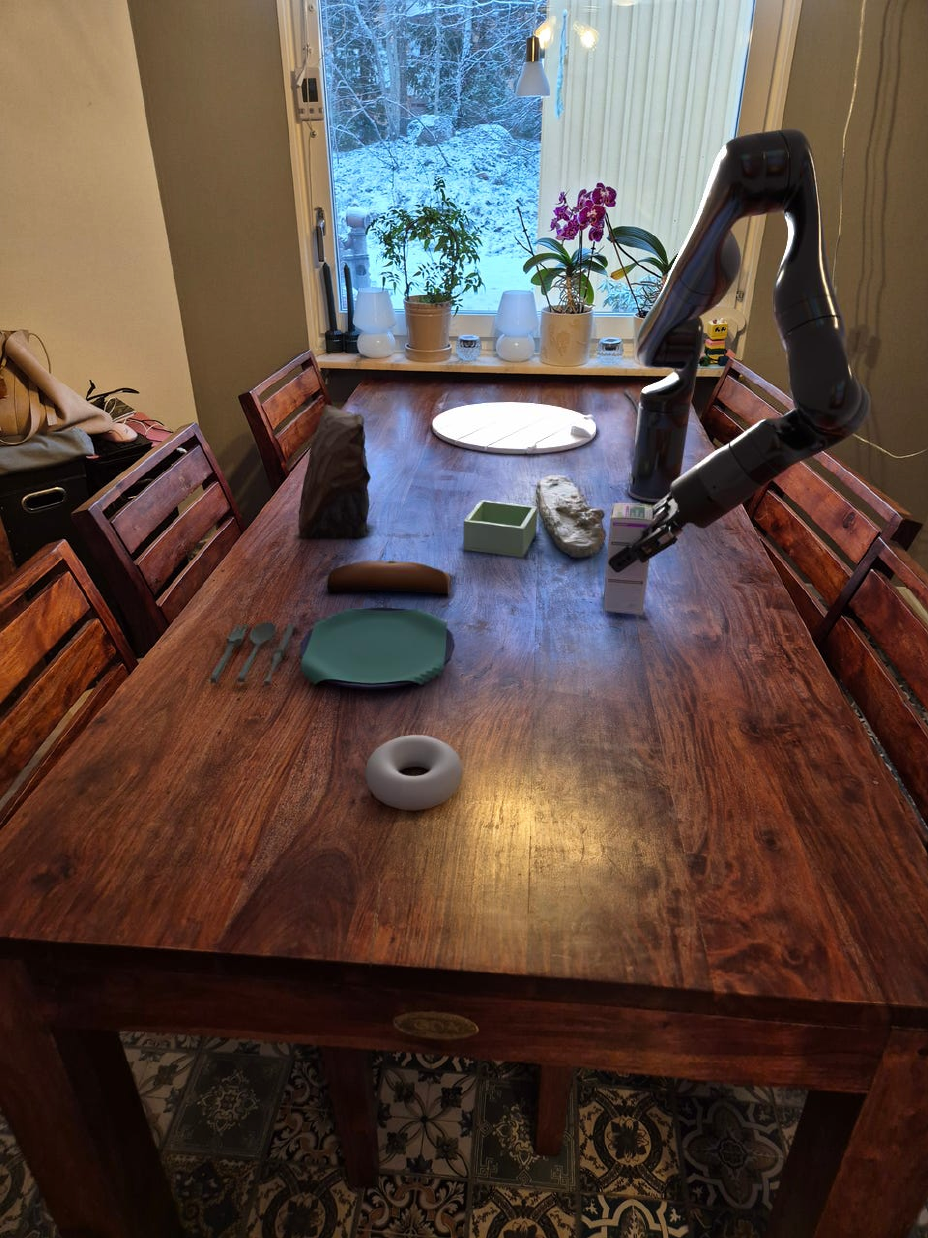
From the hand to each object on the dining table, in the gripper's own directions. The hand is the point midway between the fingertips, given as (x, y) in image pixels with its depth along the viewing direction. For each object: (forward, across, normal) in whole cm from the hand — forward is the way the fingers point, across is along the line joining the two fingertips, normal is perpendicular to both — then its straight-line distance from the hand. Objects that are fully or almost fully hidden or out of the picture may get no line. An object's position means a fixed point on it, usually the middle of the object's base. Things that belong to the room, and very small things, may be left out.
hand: (615, 556), depth 114 cm
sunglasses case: (+29, +4, -18) cm, 34 cm away
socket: (+21, -17, -9) cm, 28 cm away
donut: (+15, +45, -4) cm, 48 cm away
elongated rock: (+14, -30, -3) cm, 33 cm away
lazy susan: (+31, -83, -18) cm, 90 cm away
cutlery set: (+28, +24, -17) cm, 41 cm away
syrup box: (+4, 0, +6) cm, 8 cm away
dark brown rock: (+41, -14, -30) cm, 53 cm away
